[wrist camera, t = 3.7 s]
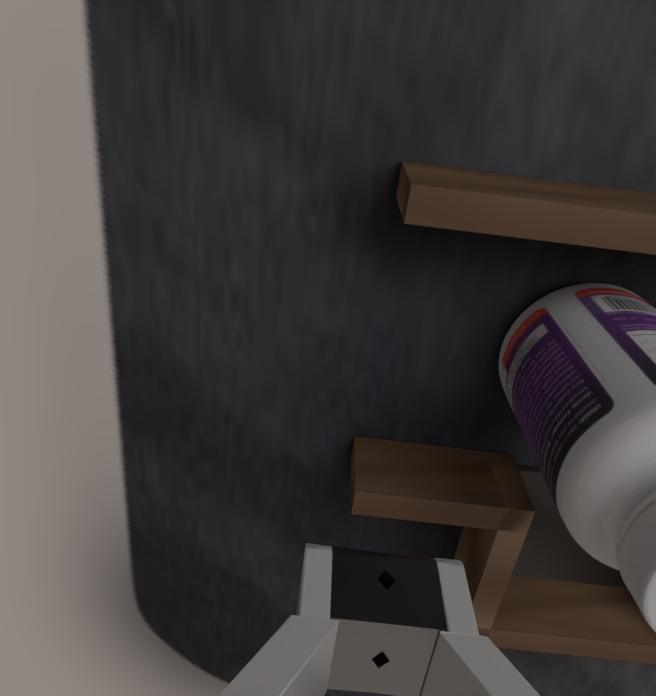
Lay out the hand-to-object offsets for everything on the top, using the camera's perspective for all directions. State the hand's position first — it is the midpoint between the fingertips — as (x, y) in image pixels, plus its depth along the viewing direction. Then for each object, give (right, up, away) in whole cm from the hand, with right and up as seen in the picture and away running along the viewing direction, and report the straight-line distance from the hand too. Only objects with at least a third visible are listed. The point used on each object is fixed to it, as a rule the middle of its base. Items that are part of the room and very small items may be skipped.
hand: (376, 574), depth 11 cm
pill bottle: (+8, +4, +9) cm, 12 cm away
